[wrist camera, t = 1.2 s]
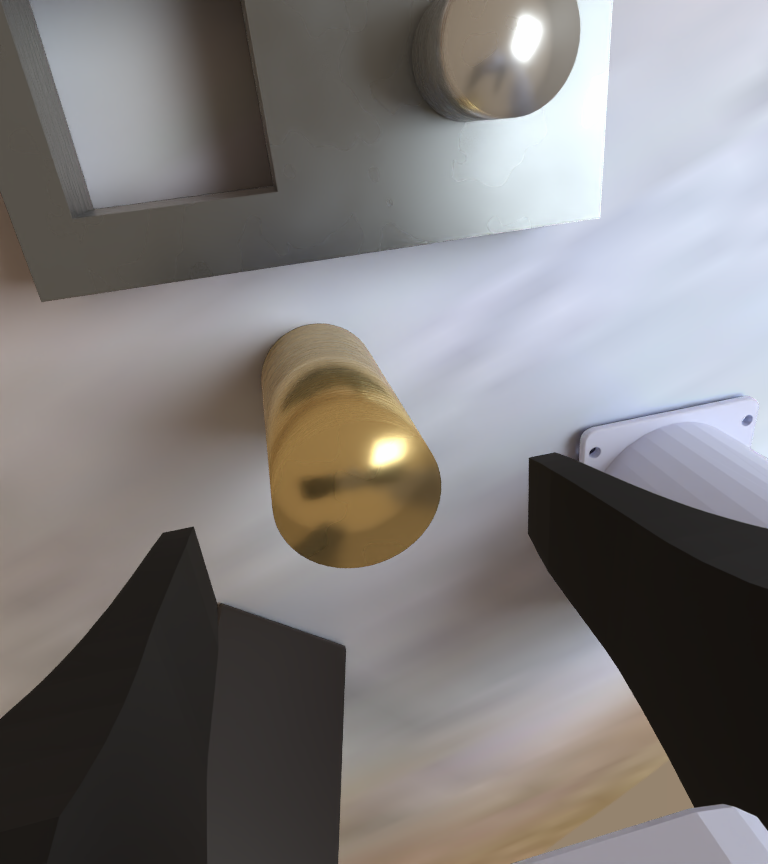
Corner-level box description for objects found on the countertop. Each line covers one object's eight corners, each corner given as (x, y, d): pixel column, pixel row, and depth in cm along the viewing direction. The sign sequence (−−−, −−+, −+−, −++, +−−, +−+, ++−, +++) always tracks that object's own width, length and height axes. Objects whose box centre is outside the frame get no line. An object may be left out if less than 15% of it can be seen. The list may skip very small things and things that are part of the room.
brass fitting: (380, 419, 22) (445, 548, 15) (273, 440, 22) (289, 583, 15) (367, 314, 20) (435, 406, 13) (250, 334, 20) (255, 439, 13)
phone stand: (223, 598, 24) (210, 952, 14) (345, 642, 27) (414, 970, 16) (123, 744, 26) (45, 1146, 16) (244, 772, 29) (247, 1136, 18)
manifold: (561, 210, 20) (662, 231, 15) (65, 282, 18) (1, 334, 13) (571, -142, 16) (714, -265, 11) (-70, -107, 14) (-238, -242, 9)
